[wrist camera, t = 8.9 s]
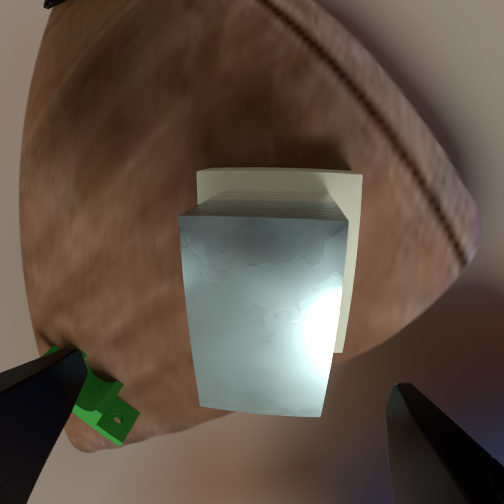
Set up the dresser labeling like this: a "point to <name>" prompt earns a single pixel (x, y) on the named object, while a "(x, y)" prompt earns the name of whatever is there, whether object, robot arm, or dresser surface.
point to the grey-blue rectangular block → (263, 298)
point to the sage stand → (301, 180)
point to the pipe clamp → (103, 406)
